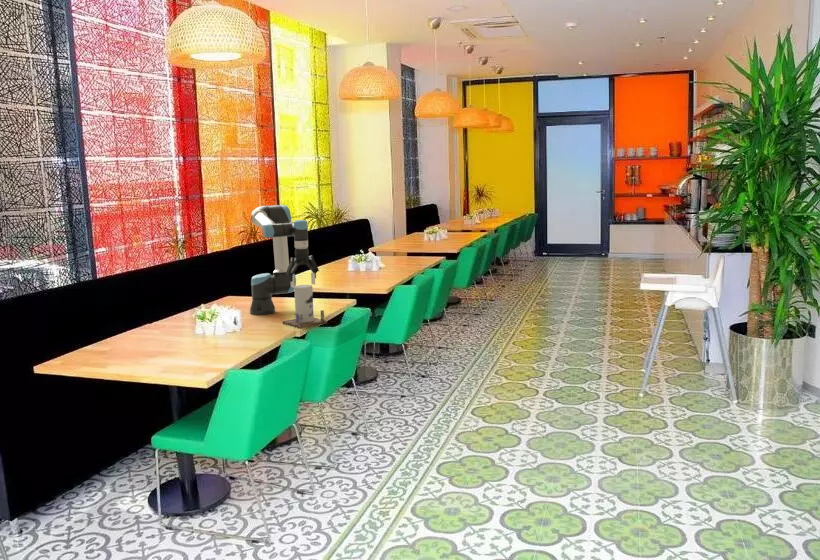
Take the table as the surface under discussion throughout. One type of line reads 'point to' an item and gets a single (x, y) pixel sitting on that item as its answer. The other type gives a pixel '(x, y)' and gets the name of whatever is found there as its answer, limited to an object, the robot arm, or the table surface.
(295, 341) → the table surface
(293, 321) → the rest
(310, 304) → the container
